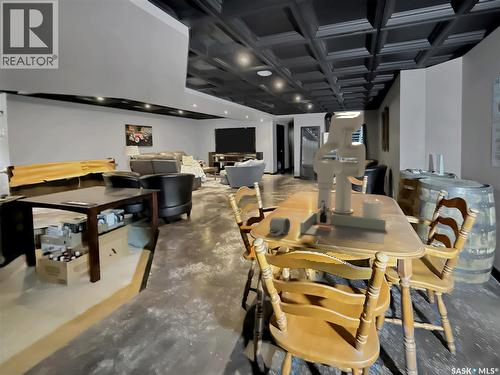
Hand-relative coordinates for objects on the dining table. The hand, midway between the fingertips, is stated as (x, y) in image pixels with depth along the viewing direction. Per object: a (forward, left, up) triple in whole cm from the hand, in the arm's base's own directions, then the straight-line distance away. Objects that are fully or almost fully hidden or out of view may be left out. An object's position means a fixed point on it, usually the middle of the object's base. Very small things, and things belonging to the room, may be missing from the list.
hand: (324, 220), depth 140 cm
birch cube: (0, 0, -1) cm, 1 cm away
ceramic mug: (+17, -18, -4) cm, 25 cm away
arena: (+2, +10, -4) cm, 11 cm away
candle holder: (-19, +21, -4) cm, 28 cm away
